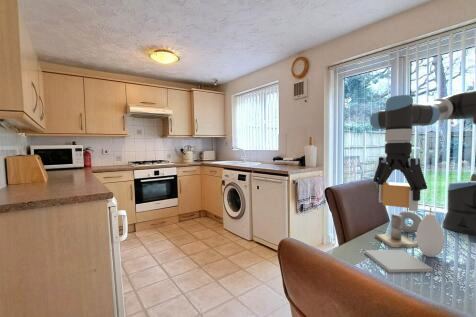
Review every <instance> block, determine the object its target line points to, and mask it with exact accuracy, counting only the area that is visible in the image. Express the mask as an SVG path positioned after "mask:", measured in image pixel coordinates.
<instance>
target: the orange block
mask: <svg viewBox="0 0 476 317" xmlns="http://www.w3.org/2000/svg"><path fill="white" fill-rule="evenodd" d="M409 190H411V187H410V185H409V183H408V182H397V181H396V182H393V181H392V182H391V181H386V182H384V183H383V203H382V206H385V207H386V206H387V207H395V208H396V207H397V208H406V209H409Z"/></svg>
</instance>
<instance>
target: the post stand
mask: <svg viewBox="0 0 476 317" xmlns="http://www.w3.org/2000/svg"><path fill="white" fill-rule="evenodd" d="M398 214H399V213H398ZM398 214H397V213H392V214H391V215H390V216H391V217H390V219H391V220H390V221H391V222H390V224H391V226H390V229H391V230H390V233H380V234H379V233H378V234H375V236H374V238H377V239H378V240H379V241H381V242H382V243H384V244H386V245H388V246H389V247H391V248H419V247H418V244H417V241H415V240H413V239H411V238H409V237H407V236H405V235H403V234H402V232H403V230H402V215H398Z"/></svg>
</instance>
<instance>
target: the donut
mask: <svg viewBox="0 0 476 317" xmlns="http://www.w3.org/2000/svg"><path fill="white" fill-rule="evenodd" d="M398 215H402V232H404V233H408V234H415V233H417V229H418V226H419V224H420V222H421V221H422V219H421V216H419V214H417V213H416V212H415V211H409V210H407V211H406V210H405V211H402V212H400V213H398ZM407 219H410V220H411V222H412V225H409V224H407V223H406V222H405V220H407Z"/></svg>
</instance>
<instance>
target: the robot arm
mask: <svg viewBox="0 0 476 317" xmlns="http://www.w3.org/2000/svg"><path fill="white" fill-rule="evenodd" d="M466 119H467V120H469V119H471V120H472V124H473V125H475V126H476V89H473V90H472V89H471V90H468V91H462V92H458V93H454V94H451V95H448V96H445V97H441V98H440V97H439V98H436V99H434V100H433V101H432V102H425V103H424V102H423V103H417V102H416V103H415V102H414V100H413V96H412V95H410V94H401V95H393V96H390V97H388V98H387V99H386V102H385V109H384V110H378V111H377V110H376V111H374V112H373V113H372V114H371V115H370V117H369V121H370V123H369V124H370V125H371V127H372V128H373V129H375V130H384V129H385V130H384V132H385V135H384V141H385V142H386V143H385V144H384V153H385V154H386V156H379V157H378V164H377V168H376V171H375V173H374V177H373V179H372V181H373V182H374V183H376V184H377V192H378V203H380V204H381V203H382V204H383V183H384V182H388V179H389V178H390V176H391V174H393V172H394V171H395V170H397V171H400V172H401V173H402V174H403V176H404V178H405V180H406V181H407V182H406V183H409V185H410V187H411V190H409V208H408V211H410V212H417V211H419V202H420V201H421V191H423V190H427V189H428V185H427V181H426V179H425V177H424V173H423V170H422V167H421V158H419V157H413V158H412V157H411V154H412V152H413V149H412V148H413V146H412V145H413V144H412V142H411V141H412V140H413V137H412V136H413V127H415V126H416V127H419V126H420V127H427V126H432V125H434V124H436V123H437V122H438V121H444V120H446V121H447V120H466ZM442 227H443V228H444V229H446V230H449V231H453V232H457V233H462V234H467V235H468V234H469V235H476V180H465V181H463V180H462V181H451V182H450V183H448V188H447V212H446V214H445V216H444V219H443V220H442Z"/></svg>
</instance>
